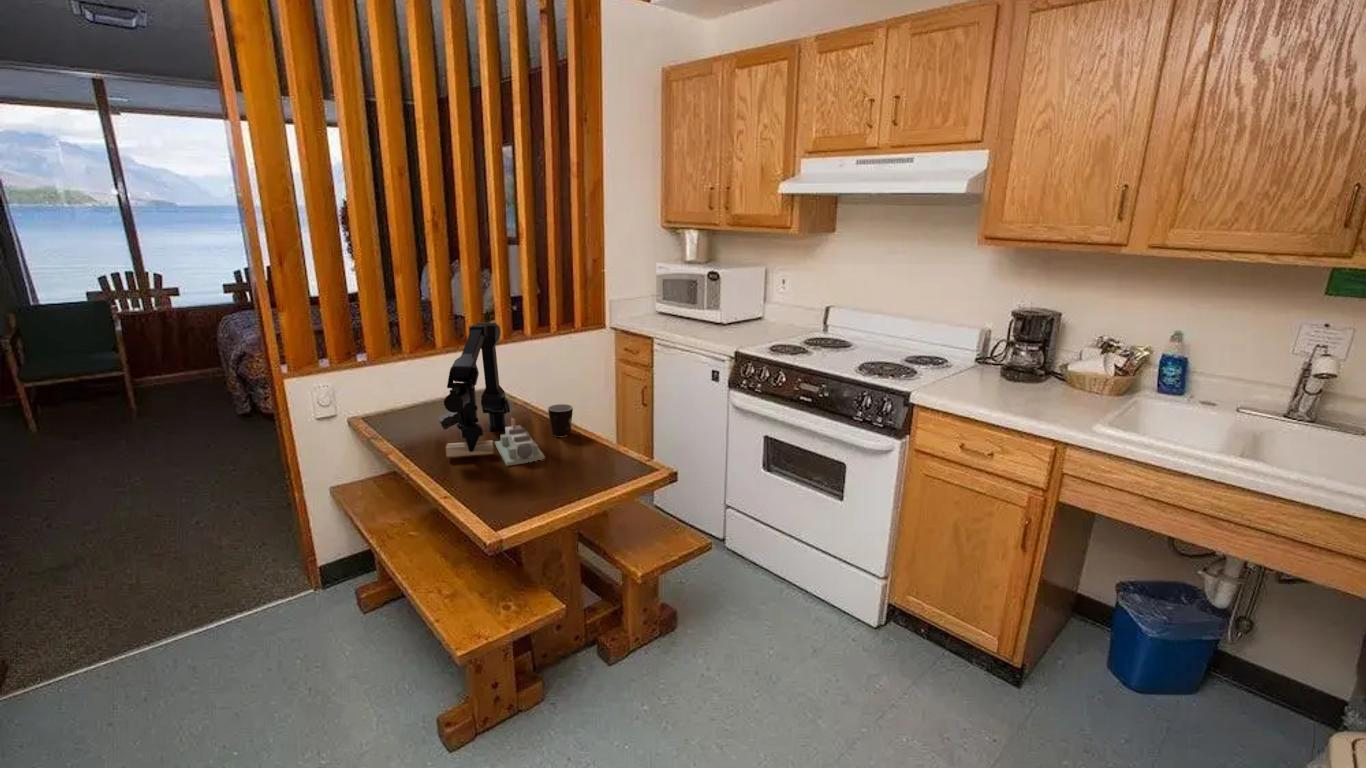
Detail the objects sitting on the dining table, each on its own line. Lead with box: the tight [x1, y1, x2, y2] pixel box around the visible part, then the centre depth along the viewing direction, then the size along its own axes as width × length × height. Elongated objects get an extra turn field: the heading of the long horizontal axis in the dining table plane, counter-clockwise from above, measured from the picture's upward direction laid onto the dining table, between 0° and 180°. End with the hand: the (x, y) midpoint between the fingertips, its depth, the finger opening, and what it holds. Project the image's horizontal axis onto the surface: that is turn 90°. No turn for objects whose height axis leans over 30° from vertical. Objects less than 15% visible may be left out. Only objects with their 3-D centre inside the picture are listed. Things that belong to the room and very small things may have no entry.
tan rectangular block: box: [445, 440, 494, 458], centre depth 195 cm, size 4×14×3 cm, turn 105°
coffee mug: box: [547, 403, 574, 436], centre depth 215 cm, size 12×9×10 cm
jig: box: [494, 417, 546, 467], centre depth 199 cm, size 21×12×9 cm, turn 27°
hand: (470, 449), depth 195 cm, fingers closed on tan rectangular block, 4 cm apart
